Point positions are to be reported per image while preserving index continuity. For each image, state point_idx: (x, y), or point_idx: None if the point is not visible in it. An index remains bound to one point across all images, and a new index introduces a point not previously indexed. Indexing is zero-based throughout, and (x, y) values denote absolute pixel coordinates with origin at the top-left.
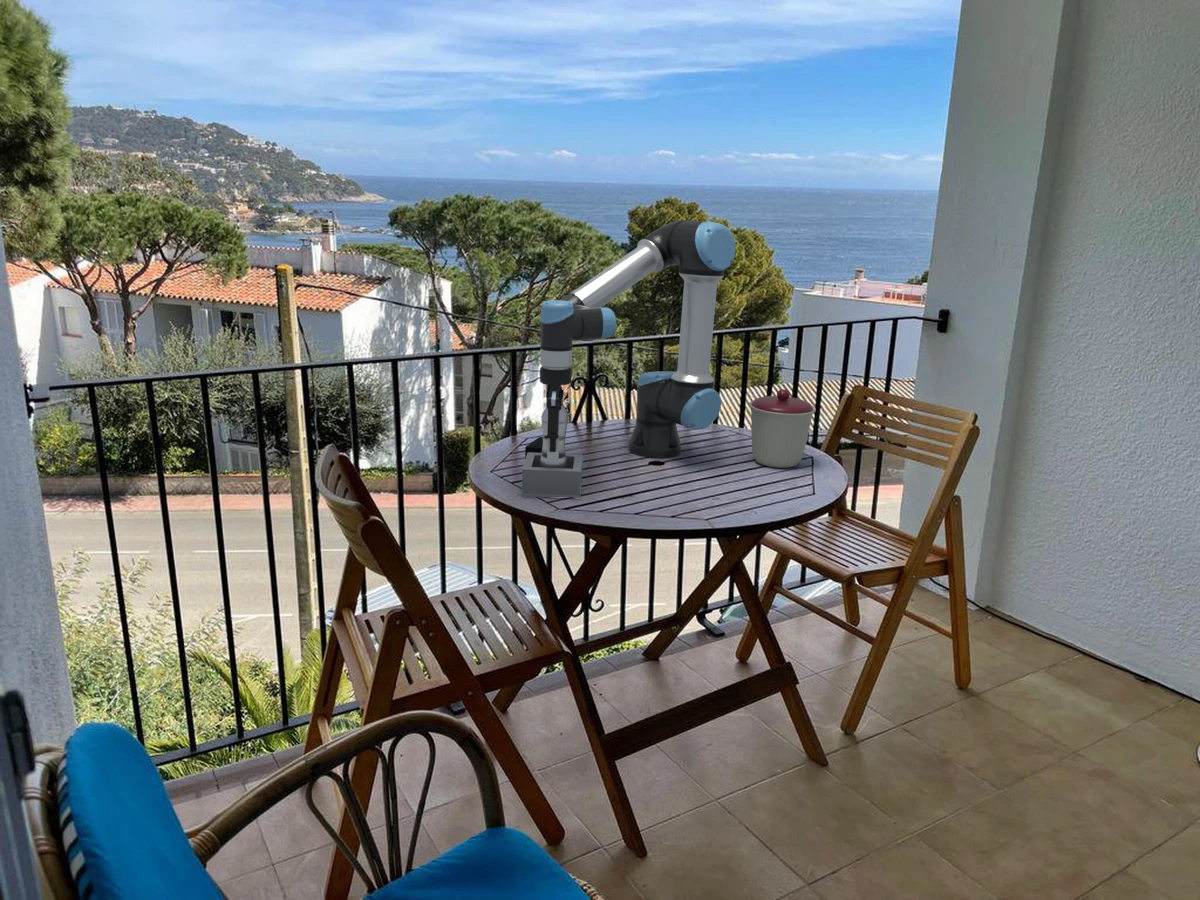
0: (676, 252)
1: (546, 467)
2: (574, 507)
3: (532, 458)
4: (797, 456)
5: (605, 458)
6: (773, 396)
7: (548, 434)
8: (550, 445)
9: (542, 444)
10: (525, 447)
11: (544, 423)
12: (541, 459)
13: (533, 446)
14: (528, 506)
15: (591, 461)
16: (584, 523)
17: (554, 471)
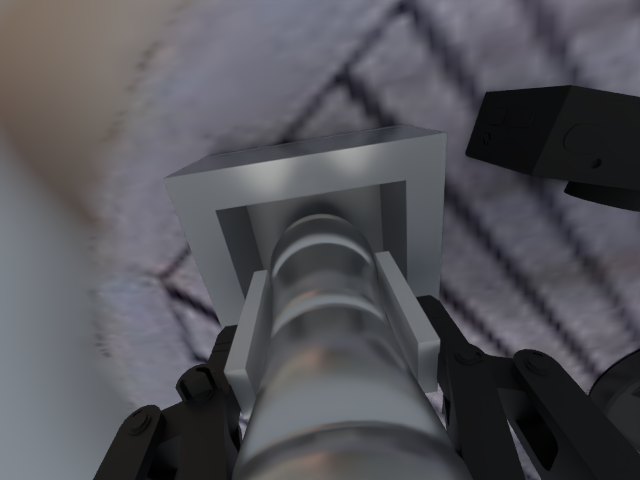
0: None
1: (271, 256)
2: (194, 308)
3: (347, 182)
4: None
5: (606, 302)
6: None
7: (119, 443)
8: (212, 358)
9: (598, 168)
10: (567, 86)
11: (249, 449)
12: (292, 243)
13: (566, 131)
14: (137, 198)
15: (583, 276)
16: (104, 344)
17: (213, 301)
